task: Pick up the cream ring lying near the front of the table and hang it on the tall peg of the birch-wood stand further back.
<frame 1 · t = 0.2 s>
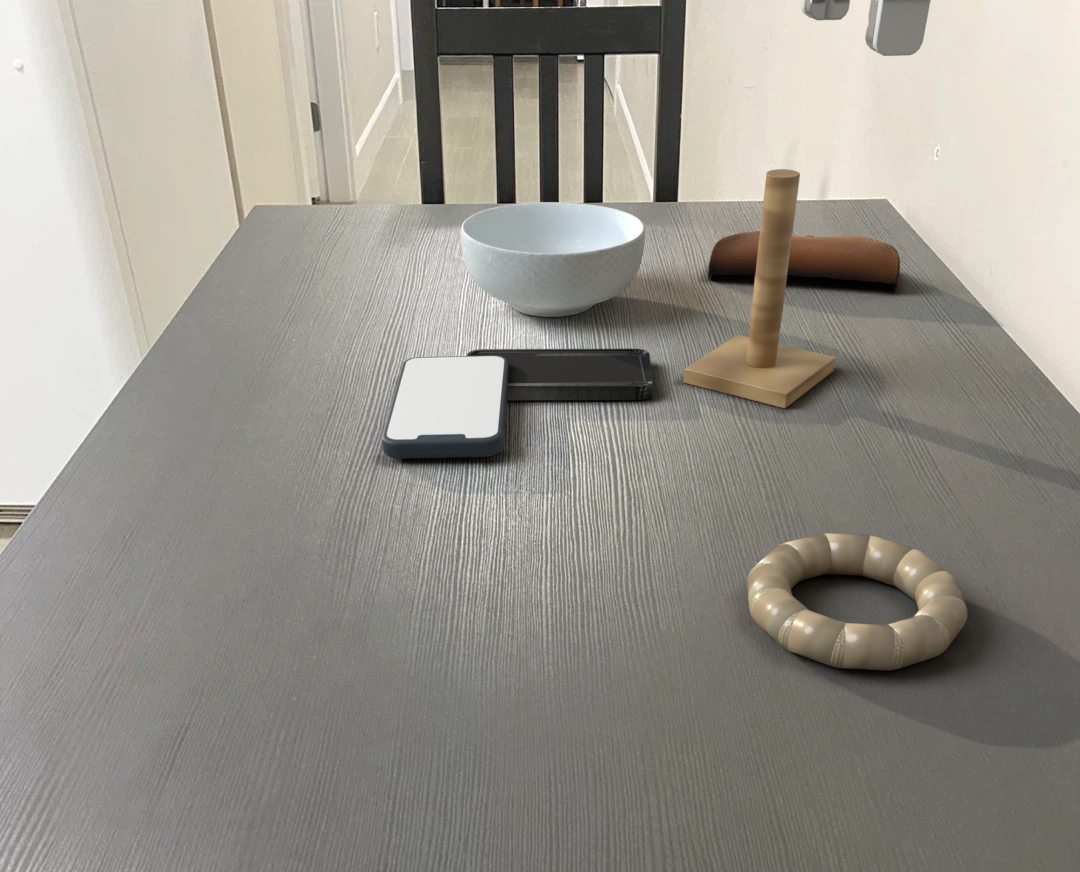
hand: (854, 34, 45), 28 cm above the table, tool pointing down, fingers open, 8 cm apart
phone: (557, 382, 88), on the table, touching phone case
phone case: (450, 416, 83), on the table, touching phone
peg stand: (759, 376, 88), on the table
sunglasses case: (801, 278, 108), on the table
ring: (854, 597, 61), point 1 cm above the table
cereal bowl: (553, 305, 103), on the table
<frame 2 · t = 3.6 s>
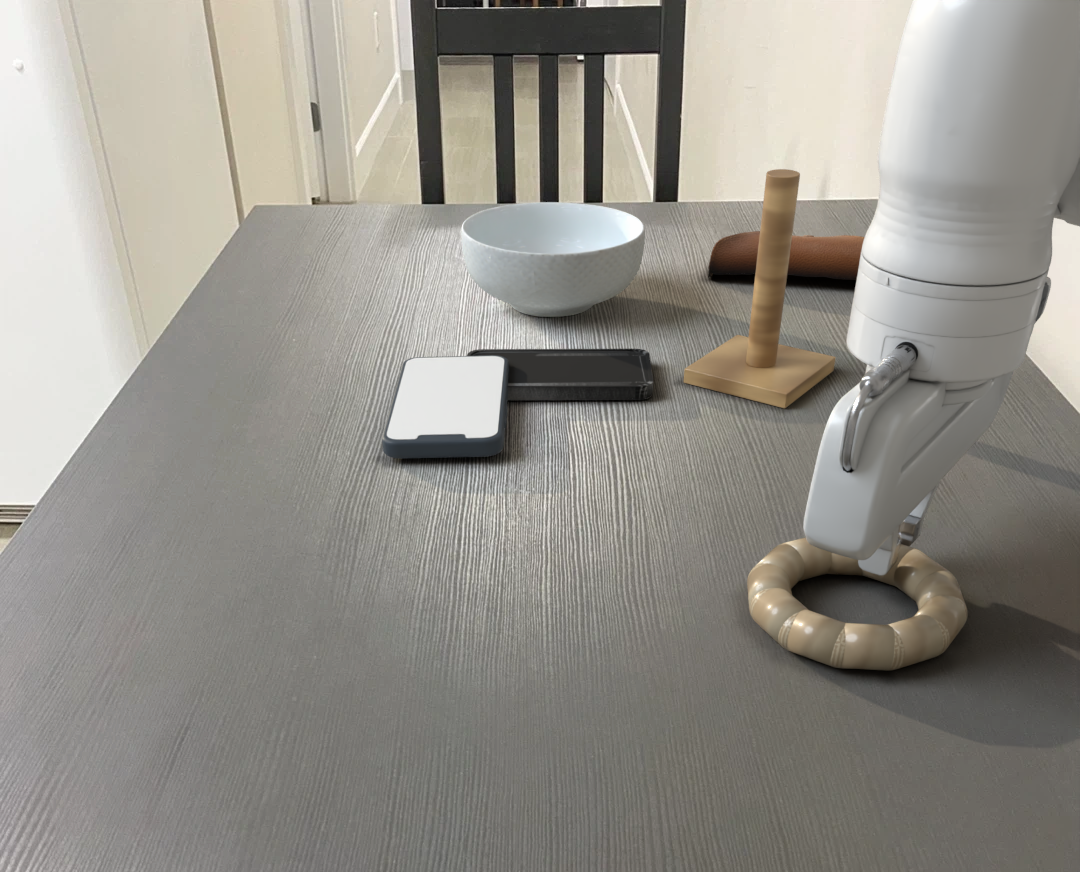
hand: (888, 554, 64), 2 cm above the table, tool pointing down, fingers closed on ring, 2 cm apart
ring: (854, 597, 61), point 1 cm above the table, touching gripper
everything else where it was.
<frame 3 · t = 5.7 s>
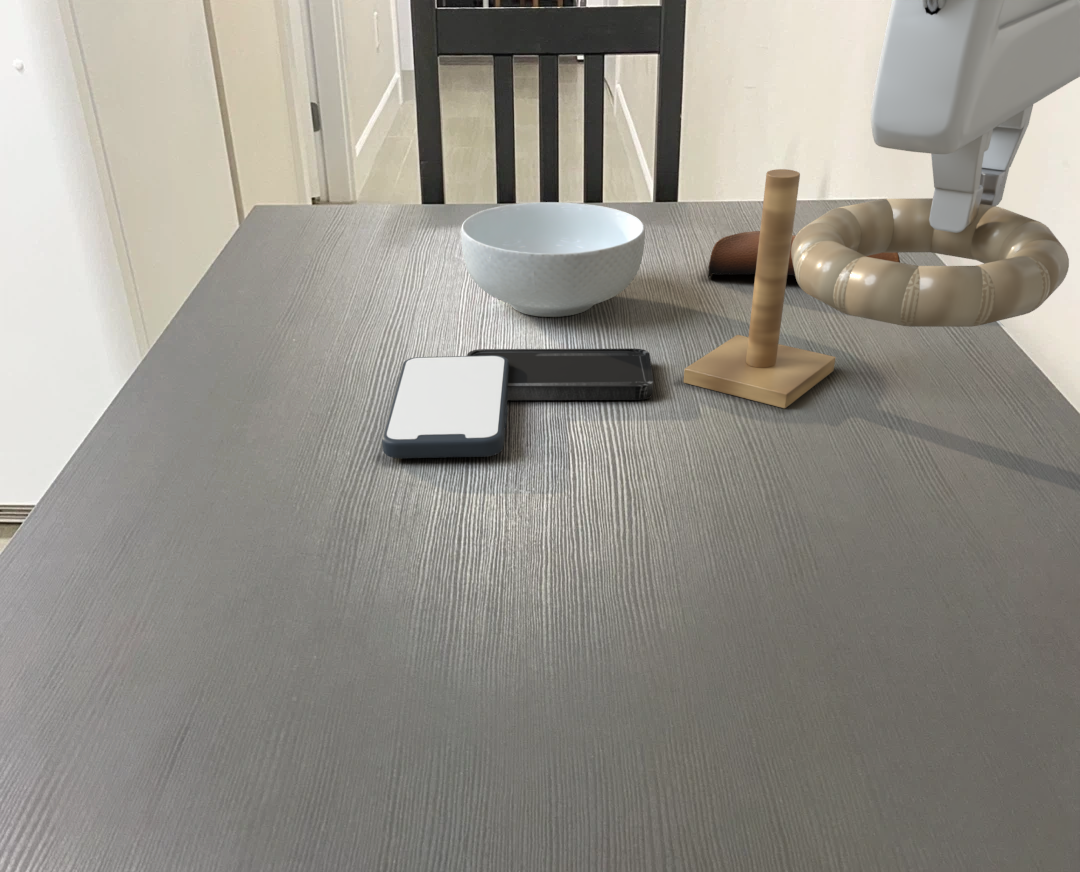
hand: (964, 218, 52), 20 cm above the table, tool pointing down, fingers closed on ring, 2 cm apart
ring: (924, 258, 50), point 20 cm above the table, touching gripper
everything else where it was.
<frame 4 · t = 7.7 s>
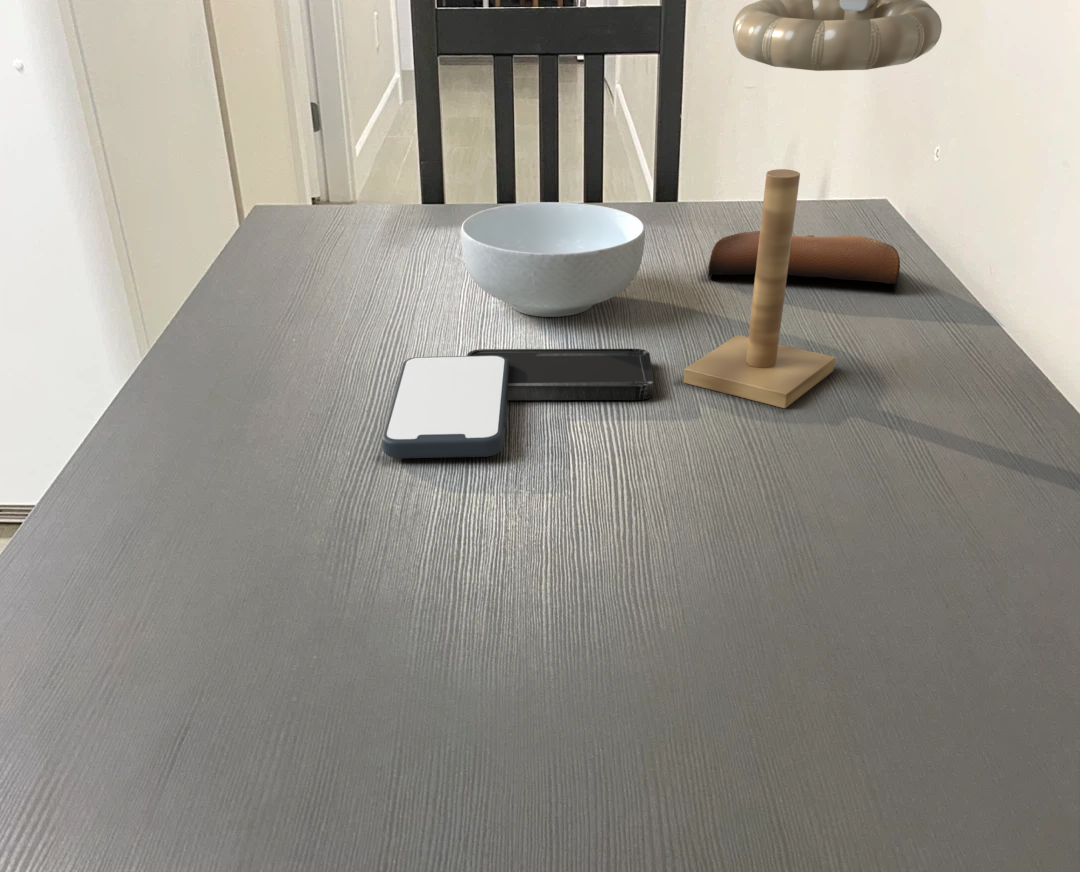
hand: (868, 6, 67), 26 cm above the table, tool pointing down, fingers closed on ring, 2 cm apart
ring: (834, 29, 64), point 25 cm above the table, touching gripper
everything else where it was.
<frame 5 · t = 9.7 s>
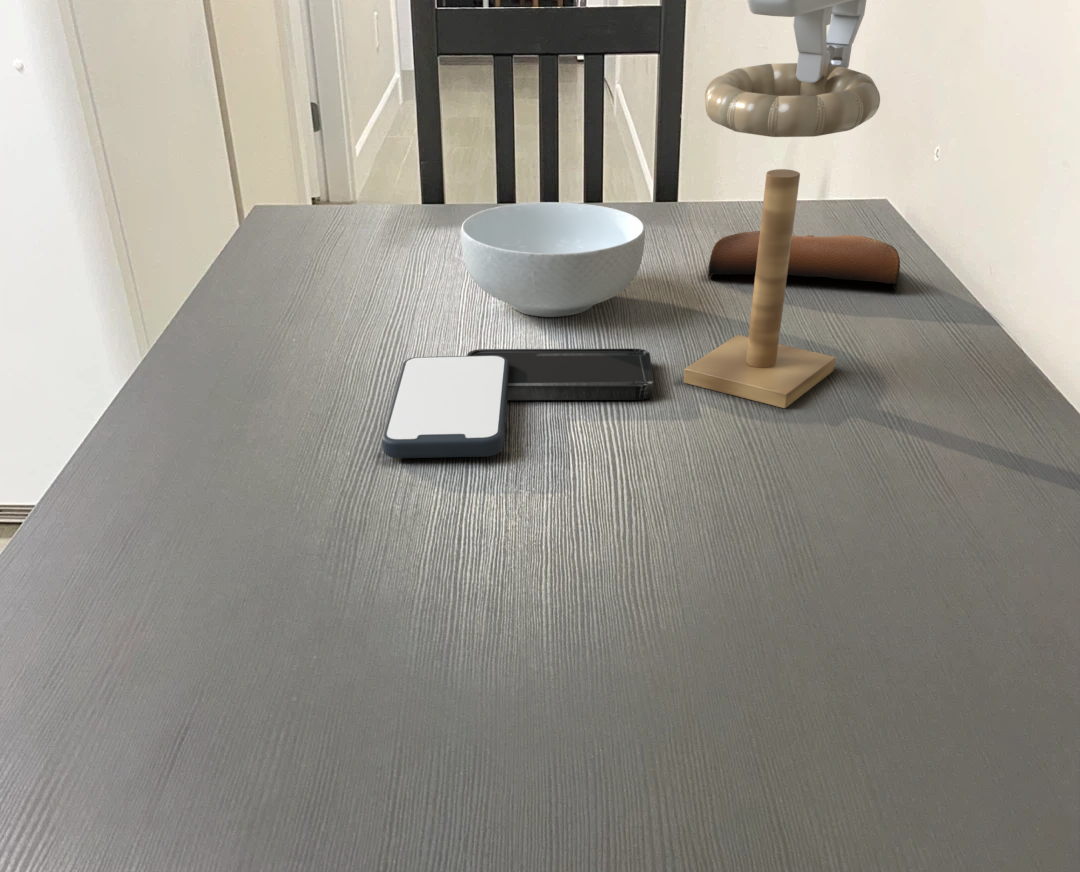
hand: (822, 76, 78), 21 cm above the table, tool pointing down, fingers closed on ring, 2 cm apart
ring: (790, 98, 76), point 20 cm above the table, touching gripper
everything else where it was.
when the fingers open (15 cm above the table, at t = 11.6 s): ring drops 12 cm, resting on peg stand.
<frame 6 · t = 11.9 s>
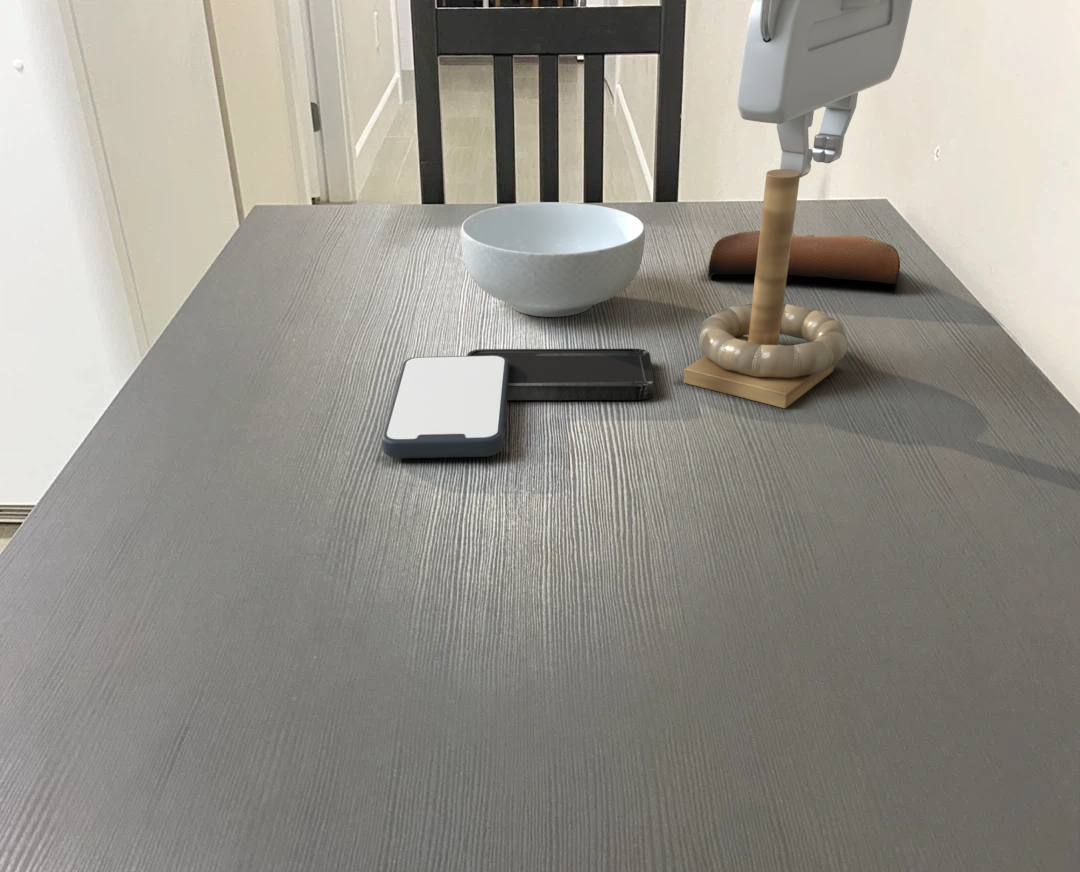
hand: (810, 168, 82), 15 cm above the table, tool pointing down, fingers open, 4 cm apart
ring: (772, 339, 88), point 2 cm above the table, touching peg stand
everything else where it was.
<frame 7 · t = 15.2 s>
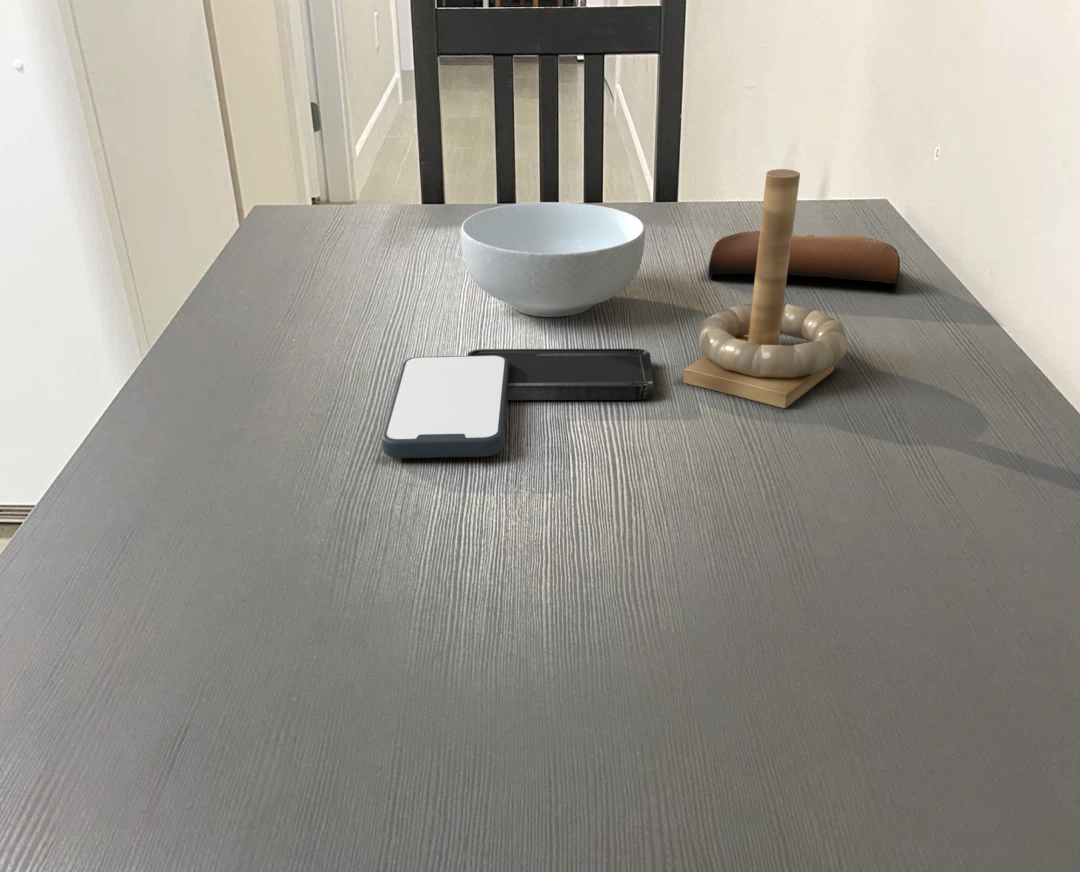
nothing on the table moved.
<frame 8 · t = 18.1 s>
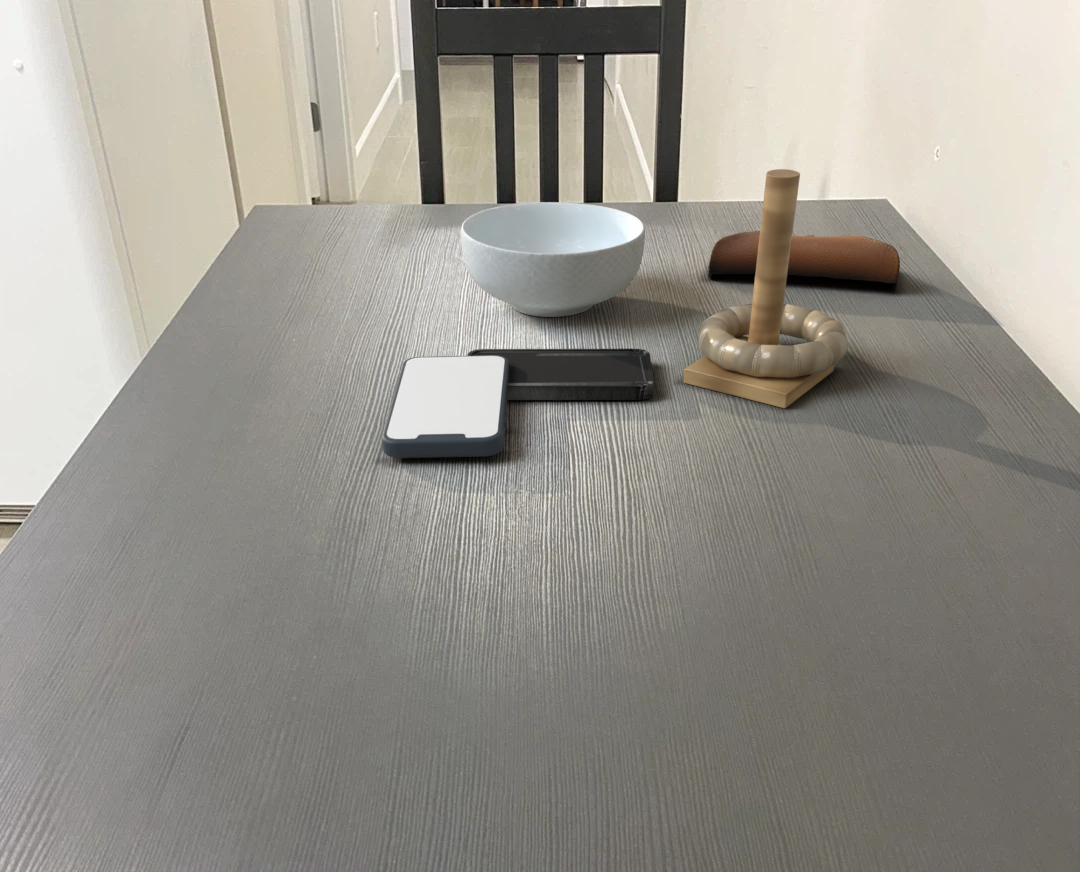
nothing on the table moved.
at the end: ring 2.1 cm off-centre on the peg stand, point 2.4 cm above the peg stand's base; the gripper is holding nothing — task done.
